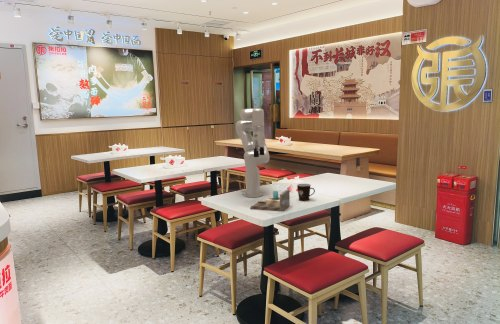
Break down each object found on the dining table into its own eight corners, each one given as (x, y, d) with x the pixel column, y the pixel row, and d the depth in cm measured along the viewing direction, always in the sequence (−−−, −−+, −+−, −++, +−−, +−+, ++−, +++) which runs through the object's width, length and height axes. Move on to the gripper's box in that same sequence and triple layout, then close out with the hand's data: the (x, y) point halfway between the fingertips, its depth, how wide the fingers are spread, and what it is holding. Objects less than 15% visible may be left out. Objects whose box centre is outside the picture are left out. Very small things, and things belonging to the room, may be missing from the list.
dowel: (272, 204, 229) (272, 191, 228) (274, 203, 232) (273, 190, 231) (277, 205, 228) (277, 192, 227) (278, 203, 231) (278, 190, 229)
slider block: (266, 207, 227) (266, 200, 227) (271, 203, 236) (271, 196, 235) (280, 208, 224) (280, 201, 223) (285, 204, 232) (285, 197, 232)
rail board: (250, 209, 229) (249, 192, 228) (257, 203, 241) (257, 188, 240) (283, 211, 222) (283, 194, 220) (289, 205, 234) (289, 189, 232)
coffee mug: (294, 199, 249) (294, 184, 248) (306, 197, 252) (305, 183, 251) (304, 203, 238) (304, 187, 237) (315, 201, 242) (315, 186, 240)
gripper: (259, 129, 227) (259, 158, 230) (268, 127, 243) (269, 154, 245) (247, 129, 230) (248, 157, 232) (257, 128, 246) (258, 154, 248)
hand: (259, 156), depth 239 cm, fingers open, 9 cm apart
